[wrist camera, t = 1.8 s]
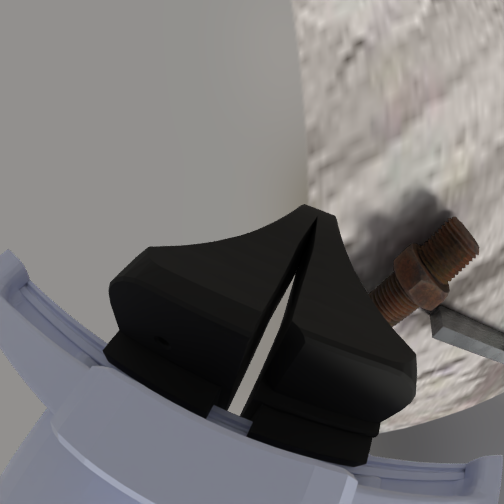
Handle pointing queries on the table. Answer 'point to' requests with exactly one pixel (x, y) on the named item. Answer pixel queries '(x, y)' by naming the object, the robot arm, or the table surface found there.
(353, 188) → the table surface
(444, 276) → the bolt
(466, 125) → the table surface
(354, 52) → the table surface
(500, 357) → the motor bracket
